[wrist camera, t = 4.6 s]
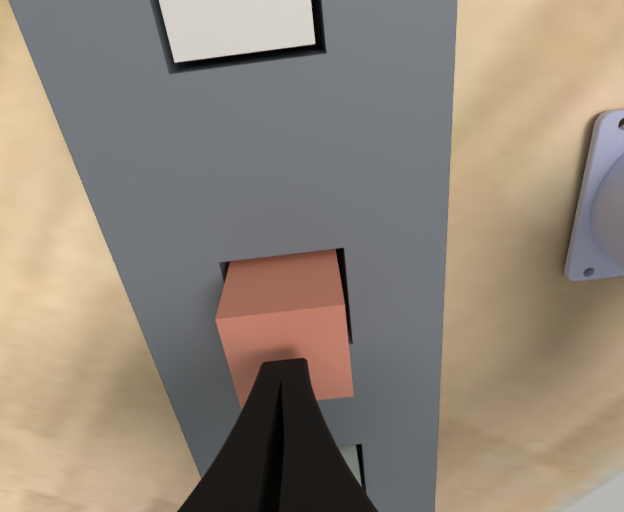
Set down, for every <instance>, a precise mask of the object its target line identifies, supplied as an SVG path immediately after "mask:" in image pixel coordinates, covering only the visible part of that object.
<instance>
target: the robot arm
mask: <svg viewBox="0 0 624 512" xmlns="http://www.w3.org/2000/svg"><path fill="white" fill-rule="evenodd" d="M622 118H624V109H617V110H609V111H606V112H604V113H602V114H601V115H600V116H599V117H598V118H597V119H596V121H595V124H594V128H593V133H592V138H591V143H590V147H589V152H588V157H587V162H586V167H585V172H584V176H583V181H582V186H581V191H580V196H579V200H578V205H577V210H576V215H575V220H574V225H573V229H572V234H571V239H570V244H569V249H568V254H567V258H566V263H565V268H564V275H565V276H566V277H567V278H568V279H569V280H570V281H585V280H594V279H602V278H611V277H620V276H624V124H623V125H622V126H621V127H618V124H619V122H620V120H621V119H622ZM587 268H589V270H587V271H586V272H584V271H585V270H586V269H587ZM177 512H378V510H377V509H376V508H375V506H374V505H373V503H372V502H371V500H370V499H369V497H368V496H367V494H366V493H365V491H364V490H363V488H362V487H361V486H360V484H359V483H358V481H357V479H356V478H355V476H354V475H353V473H352V471H351V470H350V468H349V466H348V465H347V463H346V461H345V459H344V458H343V456H342V454H341V452H340V450H339V449H338V447H337V445H336V443H335V441H334V439H333V437H332V435H331V433H330V431H329V429H328V427H327V424H326V422H325V420H324V418H323V415H322V413H321V410H320V408H319V405H318V403H317V400H316V398H315V395H314V392H313V388H312V385H311V380H310V374H309V368H308V362H307V360H306V359H305V358H295V359H286V360H277V361H268V362H263V363H262V364H261V366H260V369H259V372H258V374H257V377H256V380H255V382H254V384H253V387H252V389H251V392H250V394H249V396H248V398H247V400H246V403H245V405H244V407H243V409H242V411H241V413H240V415H239V417H238V419H237V421H236V423H235V425H234V427H233V428H232V430H231V432H230V434H229V435H228V437H227V439H226V441H225V443H224V444H223V446H222V448H221V450H220V451H219V453H218V454H217V456H216V458H215V459H214V461H213V462H212V464H211V466H210V467H209V469H208V470H207V472H206V473H205V475H204V476H203V478H202V479H201V480H200V482H199V483H198V485H197V486H196V487H195V489H194V490H193V491H192V493H191V494H190V496H189V497H188V498H187V500H186V501H185V502H184V504H183V505H182V506H181V507H180V509H179V510H178V511H177Z"/></svg>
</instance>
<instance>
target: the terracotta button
mask: <svg viewBox="0 0 624 512" xmlns="http://www.w3.org/2000/svg"><path fill="white" fill-rule="evenodd" d="M215 321H216V324H217V327H218V331H219V334H220V338H221V341H222V345H223V348H224V352H225V355H226V359H227V362H228V365H229V369H230V372H231V376H232V379H233V383H234V386H235V390H236V393H237V397H238V400H239V403H240V407H241V409H242V408H243V407H244V405H245V403H246V400H247V398H248V396H249V394H250V392H251V389H252V387H253V384H254V382H255V380H256V377H257V374H258V372H259V369H260V366H261V364H262V363H263V362H268V361H277V360H286V359H295V358H305V359H306V360H307V362H308V368H309V374H310V380H311V385H312V388H313V392H314V395H315V398H316V400H325V399H334V398H344V397H353V396H354V394H353V383H352V373H351V363H350V352H349V342H348V332H347V322H346V311H345V303H344V297H343V291H342V285H341V279H340V273H339V267H338V261H337V255H336V249H328V250H320V251H311V252H303V253H294V254H286V255H277V256H269V257H260V258H252V259H244V260H235V261H230V265H229V268H228V272H227V276H226V280H225V284H224V287H223V291H222V295H221V299H220V303H219V307H218V310H217V314H216V318H215Z"/></svg>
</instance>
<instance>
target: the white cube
mask: <svg viewBox="0 0 624 512" xmlns="http://www.w3.org/2000/svg"><path fill="white" fill-rule="evenodd" d="M159 3H160V7H161V11H162V15H163V19H164V23H165V27H166V31H167V34H168V38H169V42H170V46H171V50H172V54H173V58H174V62H175V63H176V62H183V61H191V60H198V59H206V58H213V57H221V56H229V55H236V54H244V53H251V52H259V51H266V50H274V49H281V48H289V47H296V46H304V45H312V44H315V35H314V25H313V16H312V6H311V0H159Z"/></svg>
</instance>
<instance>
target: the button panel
mask: <svg viewBox="0 0 624 512" xmlns="http://www.w3.org/2000/svg"><path fill="white" fill-rule="evenodd" d="M9 3H10V5H11V8H12V10H13V13H14V15H15V18H16V20H17V23H18V25H19V28H20V30H21V33H22V35H23V37H24V40H25V42H26V45H27V47H28V50H29V52H30V55H31V57H32V60H33V62H34V65H35V67H36V70H37V72H38V75H39V77H40V80H41V82H42V85H43V87H44V89H45V92H46V94H47V97H48V99H49V102H50V104H51V107H52V109H53V112H54V114H55V117H56V119H57V122H58V124H59V127H60V129H61V132H62V134H63V137H64V139H65V141H66V144H67V146H68V149H69V151H70V154H71V156H72V159H73V161H74V164H75V166H76V169H77V171H78V174H79V176H80V179H81V181H82V184H83V186H84V189H85V191H86V193H87V196H88V198H89V201H90V203H91V206H92V208H93V211H94V213H95V216H96V218H97V221H98V223H99V226H100V228H101V231H102V233H103V236H104V238H105V241H106V243H107V245H108V248H109V250H110V253H111V255H112V258H113V260H114V263H115V265H116V268H117V270H118V273H119V275H120V278H121V280H122V283H123V285H124V288H125V290H126V293H127V295H128V297H129V300H130V302H131V305H132V307H133V310H134V312H135V315H136V317H137V320H138V322H139V325H140V327H141V330H142V332H143V335H144V337H145V340H146V342H147V345H148V347H149V349H150V352H151V354H152V357H153V359H154V362H155V364H156V367H157V369H158V372H159V374H160V377H161V379H162V382H163V384H164V387H165V389H166V392H167V394H168V397H169V399H170V401H171V404H172V406H173V409H174V411H175V414H176V416H177V419H178V421H179V424H180V426H181V429H182V431H183V434H184V436H185V439H186V441H187V444H188V446H189V449H190V451H191V453H192V456H193V458H194V461H195V463H196V466H197V468H198V471H199V473H200V476H201V478H203V476H204V475H205V473H206V472H207V470H208V469H209V467H210V466H211V464H212V462H213V461H214V459H215V458H216V456H217V454H218V453H219V451H220V450H221V448H222V446H223V444H224V443H225V441H226V439H227V437H228V435H229V434H230V432H231V430H232V428H233V427H234V425H235V423H236V421H237V419H238V417H239V415H240V413H241V411H242V409H243V408H242V409H241V407H240V403H239V400H238V397H237V393H236V390H235V386H234V383H233V379H232V376H231V372H230V369H229V365H228V362H227V359H226V355H225V352H224V348H223V345H222V341H221V338H220V334H219V331H218V327H217V324H216V321H215V318H216V314H217V310H218V307H219V303H220V299H221V295H222V291H223V287H224V284H225V280H226V276H227V272H228V268H229V265H230V261H235V260H244V259H252V258H260V257H269V256H277V255H286V254H294V253H303V252H311V251H320V250H328V249H337V248H340V257H341V268H342V278H343V288H344V290H342V291H343V297H344V303H345V311H346V322H347V332H348V342H349V352H350V363H351V373H352V383H353V394H354V396H353V397H344V398H334V399H325V400H317V403H318V405H319V408H320V410H321V413H322V415H323V418H324V420H325V422H326V424H327V427H328V429H329V431H330V433H331V435H332V437H333V439H334V441H335V443H336V445H337V446H345V445H354V444H356V450H357V457H358V464H359V471H360V479H361V486H362V488H363V490H364V491H365V493H366V494H367V496H368V497H369V499H370V500H371V502H372V503H373V505H374V506H375V508H376V509H377V510H378V512H435V489H436V467H437V445H438V422H439V400H440V378H441V355H442V333H443V311H444V288H445V266H446V244H447V221H448V199H449V177H450V155H451V132H452V110H453V88H454V65H455V43H456V21H457V0H316V10H317V20H318V30H319V41H320V44H318V45H310V46H303V47H295V48H288V49H280V50H273V51H265V52H258V53H250V54H242V55H235V56H227V57H220V58H212V59H205V60H191V61H183V62H176V63H175V62H174V58H173V54H172V50H171V46H170V42H169V38H168V34H167V31H166V27H165V23H164V19H163V15H162V11H161V7H160V3H159V0H9Z"/></svg>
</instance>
